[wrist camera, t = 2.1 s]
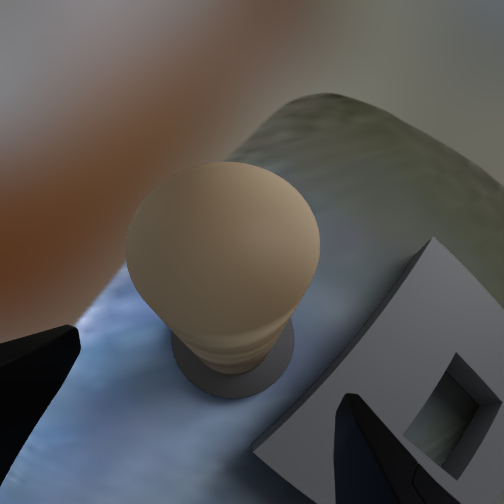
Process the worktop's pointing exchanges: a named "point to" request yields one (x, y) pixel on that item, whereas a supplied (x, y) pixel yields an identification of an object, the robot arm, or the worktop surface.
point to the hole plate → (408, 382)
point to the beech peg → (224, 259)
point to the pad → (240, 383)
